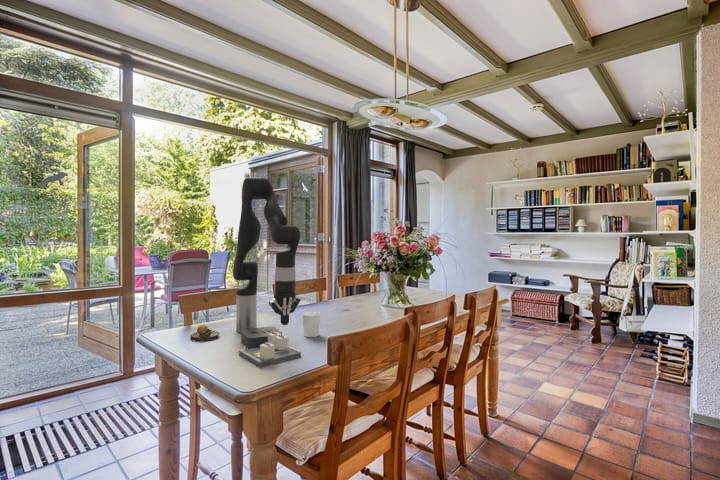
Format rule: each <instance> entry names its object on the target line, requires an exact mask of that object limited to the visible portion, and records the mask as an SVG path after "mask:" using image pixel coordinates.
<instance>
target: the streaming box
mask: <svg viewBox="0 0 720 480" xmlns="http://www.w3.org/2000/svg"><path fill="white" fill-rule="evenodd" d="M272 332H277V333H279V334H281V335H283V332H282V331H281V330H279V329H278V328H276V327H275V326H263V327H262V326H261V327H257V328H253V329H245V330H242V331H241V333H240V334H241V335H240V337H241V339H240V340H241V344H242V345H243V347H244V348H245V349H246V350H247V349H251V348H256V347H260V345H261V344H265V342H267V343H268V334H269V333H272Z"/></svg>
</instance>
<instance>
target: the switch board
mask: <svg viewBox="0 0 720 480" xmlns="http://www.w3.org/2000/svg"><path fill="white" fill-rule="evenodd" d="M301 353H302V352H301V350H298V349H296V348H294V347H292V346H289V345H288V349H285V350H280V351H279V350H277V349H275V357H274V358H270V359H266V360H265V359H263V358H261V357H260V347H256V348H251V349H247V348H246V349H239V350H238V356H240V357H242V358H244V359H245V360H247V361H249V362H250V363H251V364H253V365H256V366H257V367H259V368H261V367H265V366H270V365H273V364H277V363H280V362H284V361H288V360H294V359H297V358H300V357H302V356H301V355H302V354H301Z"/></svg>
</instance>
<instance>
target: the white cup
mask: <svg viewBox="0 0 720 480" xmlns="http://www.w3.org/2000/svg"><path fill="white" fill-rule="evenodd" d="M320 318H321V313H320V312H319V311H318V312H317V311H307V312H303V313H302V329H303V336H304V337H306V338H316V337H318V336H320V335H319V334H320V332H319V331H320V322H321V321H320V320H321V319H320Z"/></svg>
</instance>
